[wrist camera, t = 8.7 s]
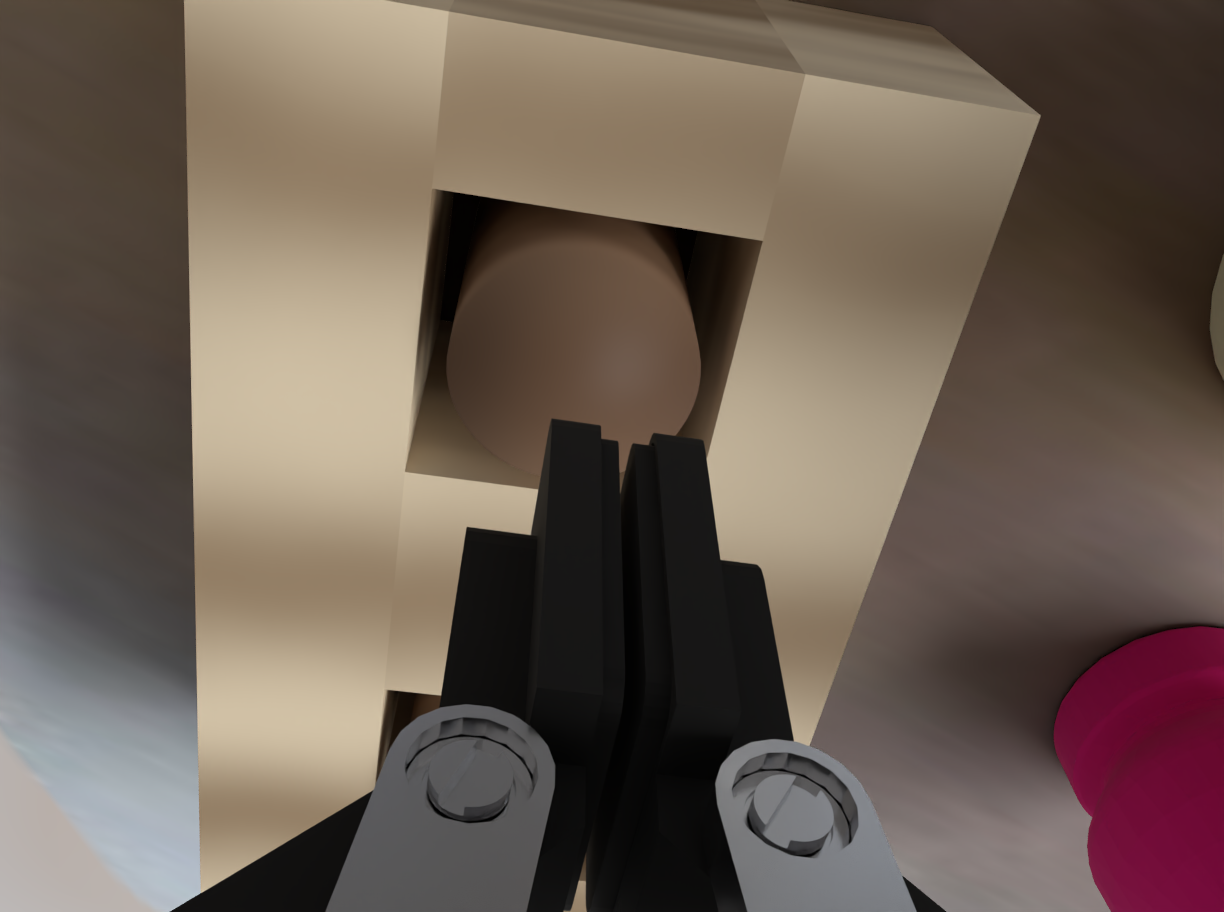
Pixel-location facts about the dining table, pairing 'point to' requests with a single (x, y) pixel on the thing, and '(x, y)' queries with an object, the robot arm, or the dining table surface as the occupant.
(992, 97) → the oak socket block
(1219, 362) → the reusable coffee cup
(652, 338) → the near walnut peg
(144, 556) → the dining table surface
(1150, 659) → the pepper mill
